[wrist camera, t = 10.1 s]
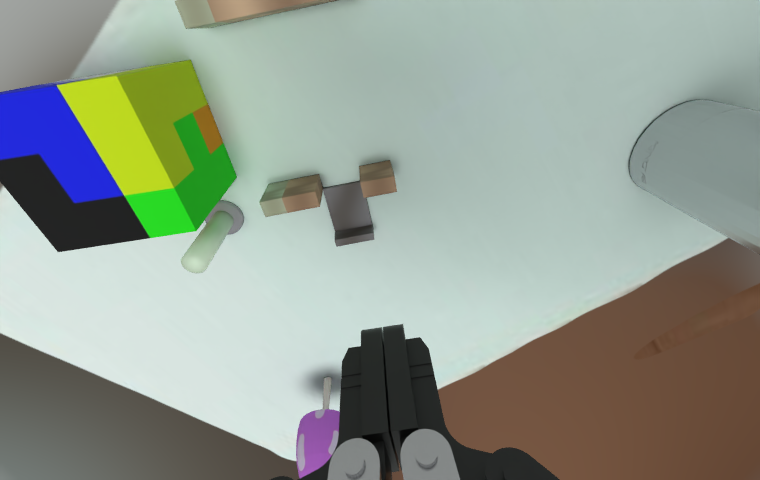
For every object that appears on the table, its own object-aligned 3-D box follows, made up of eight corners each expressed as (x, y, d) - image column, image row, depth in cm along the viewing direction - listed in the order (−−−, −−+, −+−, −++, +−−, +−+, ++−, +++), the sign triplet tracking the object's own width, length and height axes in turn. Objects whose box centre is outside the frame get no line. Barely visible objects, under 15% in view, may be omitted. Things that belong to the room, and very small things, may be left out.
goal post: (235, 197, 33) (205, 241, 26) (249, 227, 35) (224, 276, 28) (200, 204, 33) (161, 249, 26) (216, 234, 35) (183, 284, 28)
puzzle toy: (67, 79, 27) (-63, 104, 18) (190, 59, 26) (116, 75, 18) (134, 192, 32) (58, 252, 24) (237, 176, 32) (196, 230, 23)
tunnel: (358, -31, 24) (359, -40, 21) (400, 224, 36) (405, 244, 33) (198, 4, 24) (174, 1, 21) (292, 244, 36) (286, 267, 33)
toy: (357, 383, 51) (359, 501, 38) (319, 397, 52) (309, 515, 39) (336, 359, 47) (331, 480, 35) (296, 374, 48) (276, 496, 36)
